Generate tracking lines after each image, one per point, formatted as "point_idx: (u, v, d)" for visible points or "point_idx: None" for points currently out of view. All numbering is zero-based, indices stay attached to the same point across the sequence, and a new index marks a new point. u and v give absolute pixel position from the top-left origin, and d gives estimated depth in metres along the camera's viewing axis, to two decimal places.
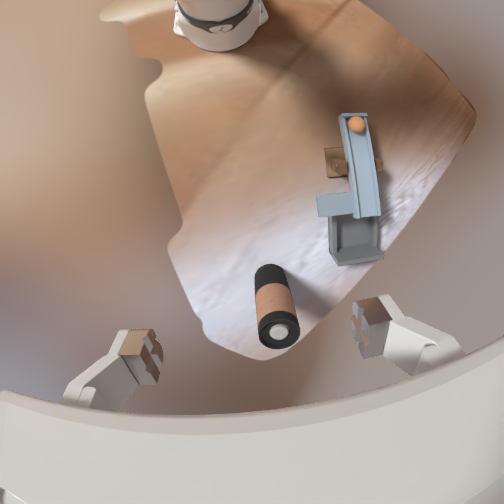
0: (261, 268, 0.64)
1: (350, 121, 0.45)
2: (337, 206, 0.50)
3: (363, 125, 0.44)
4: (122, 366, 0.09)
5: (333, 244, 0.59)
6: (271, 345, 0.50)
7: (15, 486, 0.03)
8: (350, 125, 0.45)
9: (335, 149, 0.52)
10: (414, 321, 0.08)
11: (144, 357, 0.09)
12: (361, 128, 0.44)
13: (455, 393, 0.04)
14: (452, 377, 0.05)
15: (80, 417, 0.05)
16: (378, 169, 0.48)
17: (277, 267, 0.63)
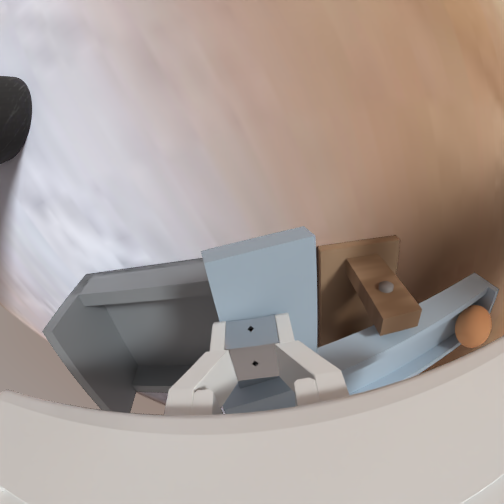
0: (19, 84, 0.11)
1: (486, 313, 0.14)
2: None
3: (475, 346, 0.14)
4: (228, 362, 0.09)
5: (103, 294, 0.17)
6: None
7: (15, 486, 0.03)
8: (480, 315, 0.14)
9: (393, 266, 0.19)
10: (302, 347, 0.08)
11: None
12: (472, 344, 0.14)
13: (455, 393, 0.04)
14: (452, 377, 0.05)
15: (80, 417, 0.05)
16: None
17: (19, 129, 0.13)
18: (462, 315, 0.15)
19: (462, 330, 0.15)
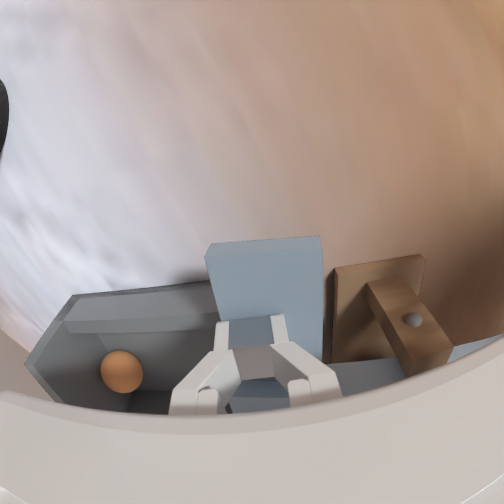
0: None
1: (118, 352, 0.17)
2: None
3: None
4: (231, 361, 0.09)
5: (89, 322, 0.14)
6: None
7: (15, 486, 0.03)
8: (117, 359, 0.16)
9: (416, 288, 0.16)
10: (296, 348, 0.08)
11: None
12: (138, 380, 0.17)
13: (455, 393, 0.04)
14: (452, 377, 0.05)
15: (80, 417, 0.05)
16: None
17: None
18: (106, 376, 0.15)
19: (121, 384, 0.16)
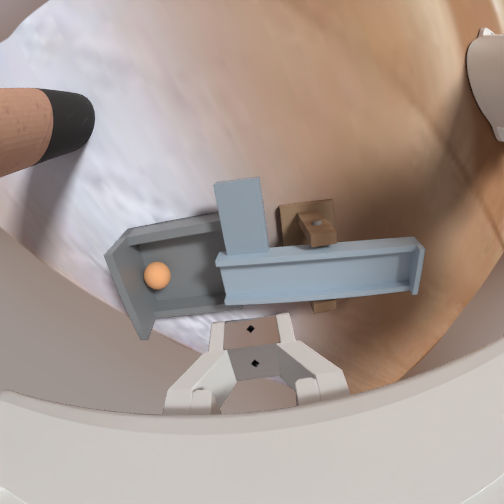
0: (86, 100, 0.23)
1: None
2: (237, 221, 0.25)
3: None
4: (226, 362, 0.09)
5: (144, 235, 0.28)
6: None
7: (15, 486, 0.03)
8: (156, 264, 0.30)
9: (331, 219, 0.30)
10: (303, 347, 0.08)
11: None
12: (169, 277, 0.31)
13: (455, 393, 0.04)
14: (452, 377, 0.05)
15: (80, 417, 0.05)
16: (317, 306, 0.28)
17: (88, 130, 0.24)
18: (150, 274, 0.29)
19: (159, 278, 0.30)
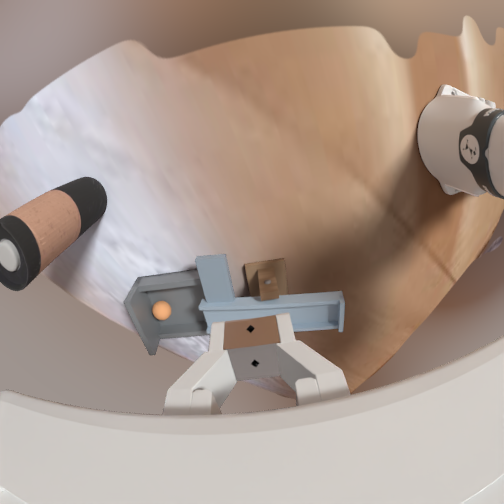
0: (98, 185, 0.35)
1: (160, 301, 0.43)
2: (211, 282, 0.38)
3: None
4: (226, 362, 0.09)
5: (150, 285, 0.40)
6: None
7: (15, 486, 0.03)
8: (161, 302, 0.43)
9: (284, 272, 0.43)
10: (303, 347, 0.08)
11: None
12: (170, 311, 0.43)
13: (455, 393, 0.04)
14: (452, 377, 0.05)
15: (80, 417, 0.05)
16: None
17: (103, 209, 0.36)
18: (158, 311, 0.42)
19: (165, 312, 0.42)
